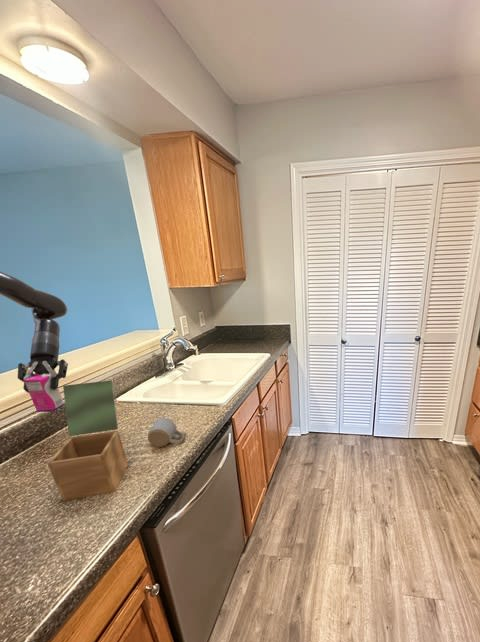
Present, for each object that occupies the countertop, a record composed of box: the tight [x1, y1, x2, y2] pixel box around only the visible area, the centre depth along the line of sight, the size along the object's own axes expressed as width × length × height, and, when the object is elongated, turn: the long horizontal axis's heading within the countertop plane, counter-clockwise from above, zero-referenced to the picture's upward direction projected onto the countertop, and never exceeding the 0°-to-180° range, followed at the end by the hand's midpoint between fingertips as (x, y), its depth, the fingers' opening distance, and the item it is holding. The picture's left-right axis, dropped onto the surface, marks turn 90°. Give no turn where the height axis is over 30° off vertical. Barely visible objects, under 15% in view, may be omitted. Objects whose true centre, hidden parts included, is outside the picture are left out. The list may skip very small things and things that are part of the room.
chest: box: [47, 430, 129, 501], centre depth 89 cm, size 14×13×13 cm
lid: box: [62, 379, 119, 437], centre depth 93 cm, size 14×13×1 cm
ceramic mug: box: [147, 417, 185, 448], centre depth 111 cm, size 11×8×8 cm
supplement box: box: [23, 374, 65, 413], centre depth 108 cm, size 6×6×12 cm
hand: (40, 390), depth 106 cm, fingers closed on supplement box, 6 cm apart
